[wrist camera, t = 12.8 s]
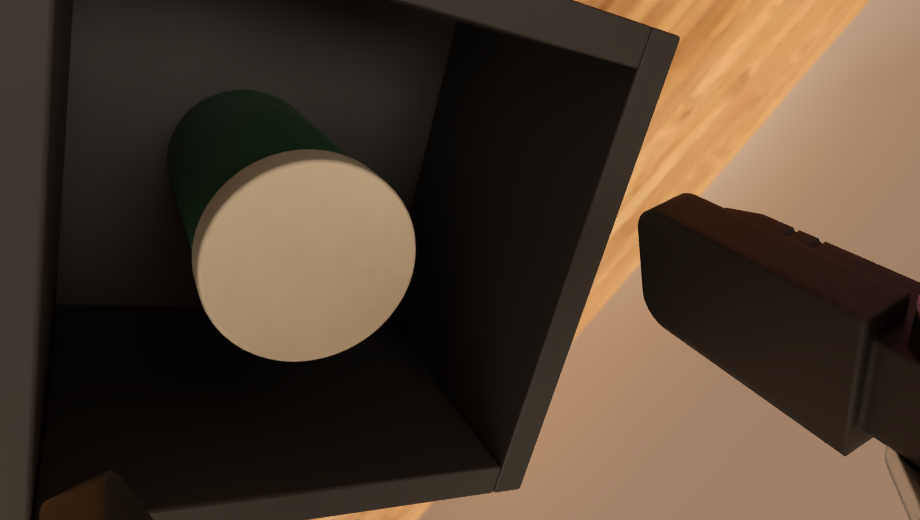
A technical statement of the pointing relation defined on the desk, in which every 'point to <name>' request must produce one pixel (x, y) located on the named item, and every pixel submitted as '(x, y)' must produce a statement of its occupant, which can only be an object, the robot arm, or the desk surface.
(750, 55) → the desk surface
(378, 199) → the tube
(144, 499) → the bin
